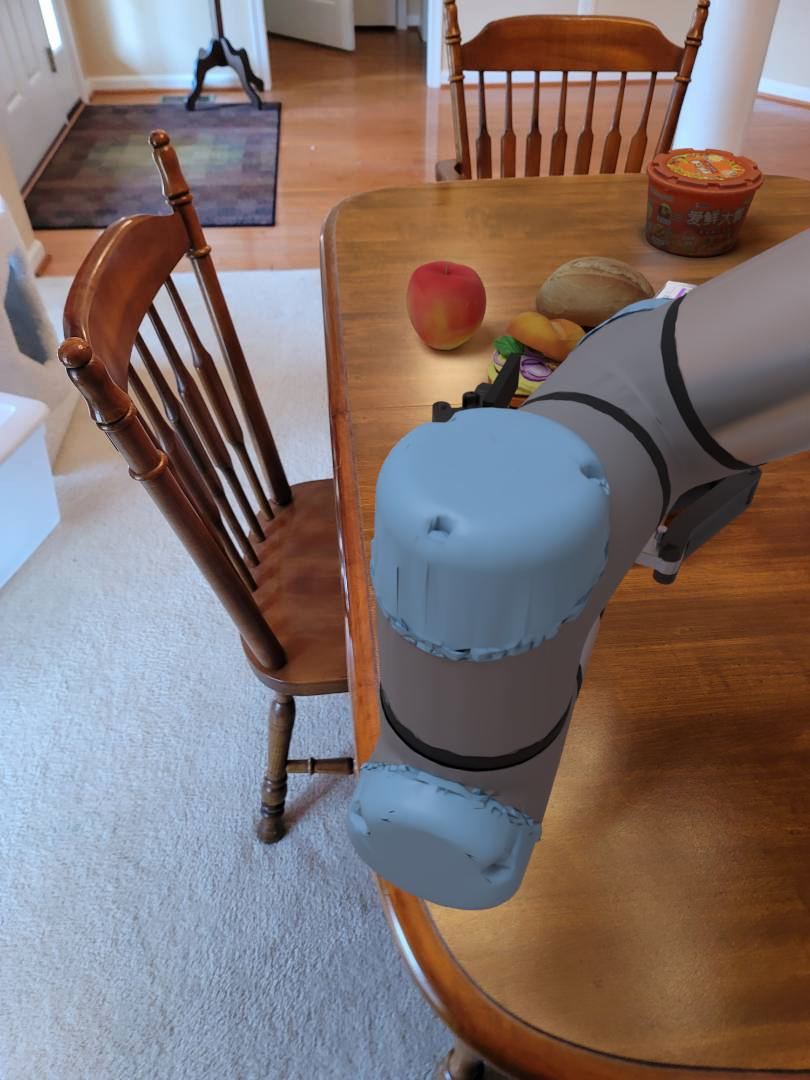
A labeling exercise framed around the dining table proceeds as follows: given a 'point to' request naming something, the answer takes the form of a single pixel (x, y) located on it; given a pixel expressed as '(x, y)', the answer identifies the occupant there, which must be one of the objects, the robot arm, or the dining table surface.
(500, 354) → the cheeseburger
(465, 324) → the apple
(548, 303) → the bread roll
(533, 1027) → the dining table surface
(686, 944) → the dining table surface
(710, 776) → the dining table surface
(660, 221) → the food container
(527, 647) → the robot arm
